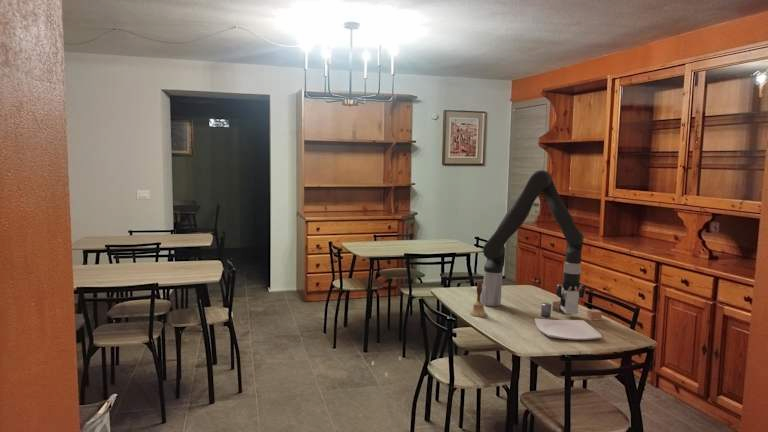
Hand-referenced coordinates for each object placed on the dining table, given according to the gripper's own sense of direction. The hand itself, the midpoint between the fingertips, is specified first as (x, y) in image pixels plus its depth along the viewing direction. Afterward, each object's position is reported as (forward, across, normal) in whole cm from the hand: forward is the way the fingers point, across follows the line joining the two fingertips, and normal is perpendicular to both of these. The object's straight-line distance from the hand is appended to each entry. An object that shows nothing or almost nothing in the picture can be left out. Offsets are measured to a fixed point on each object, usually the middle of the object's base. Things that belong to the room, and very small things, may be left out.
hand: (569, 306), depth 246 cm
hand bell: (+6, -43, +7) cm, 44 cm away
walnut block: (+6, 0, +10) cm, 11 cm away
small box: (+3, 0, 0) cm, 3 cm away
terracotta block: (+5, +11, -3) cm, 13 cm away
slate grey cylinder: (+6, -11, +2) cm, 12 cm away
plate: (+6, -12, -21) cm, 25 cm away
